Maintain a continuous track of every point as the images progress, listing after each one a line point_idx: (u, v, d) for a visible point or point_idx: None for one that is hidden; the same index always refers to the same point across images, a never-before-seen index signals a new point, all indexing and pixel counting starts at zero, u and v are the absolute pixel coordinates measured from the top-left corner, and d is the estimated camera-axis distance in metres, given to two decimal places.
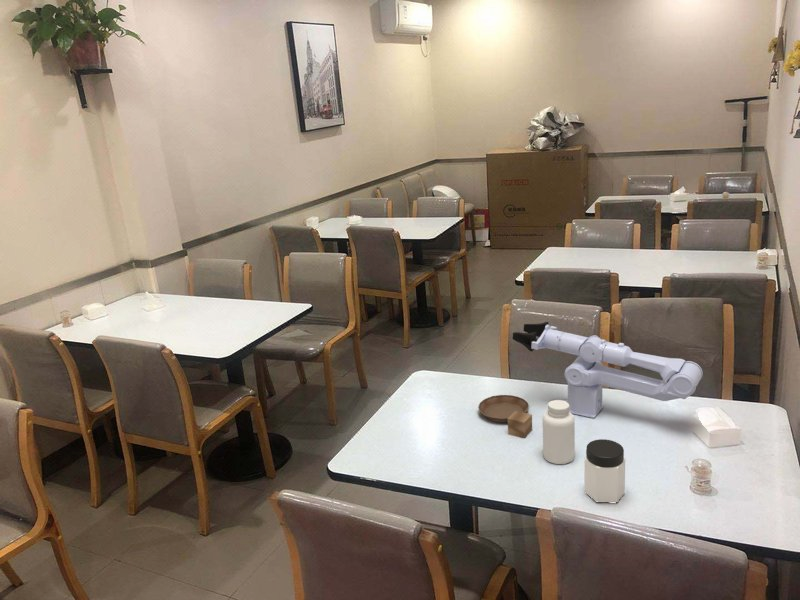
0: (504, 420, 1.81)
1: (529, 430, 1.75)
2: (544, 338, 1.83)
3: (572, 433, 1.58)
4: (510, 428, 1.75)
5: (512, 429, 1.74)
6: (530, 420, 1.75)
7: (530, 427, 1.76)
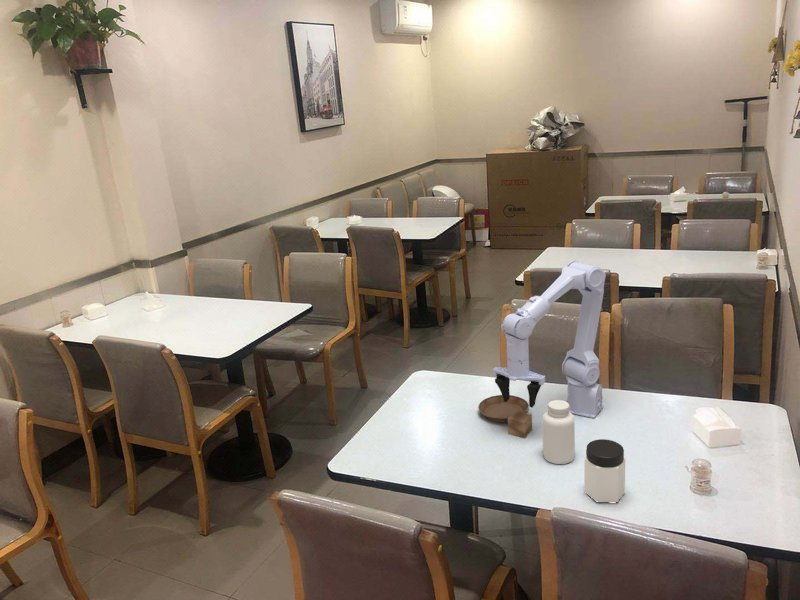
0: (504, 420, 1.81)
1: (529, 430, 1.75)
2: (526, 375, 1.69)
3: (572, 433, 1.58)
4: (510, 428, 1.75)
5: (512, 429, 1.74)
6: (530, 420, 1.75)
7: (530, 427, 1.76)
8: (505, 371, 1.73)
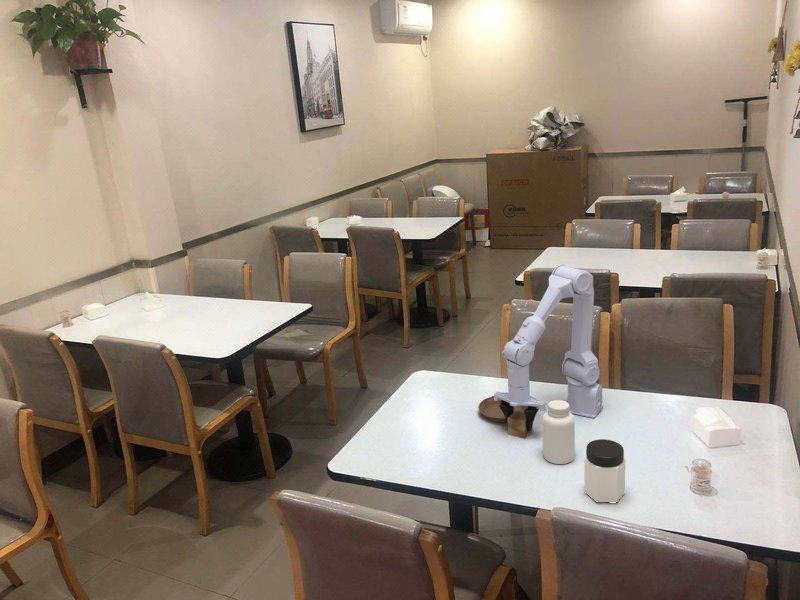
0: (504, 420, 1.81)
1: None
2: (526, 400, 1.71)
3: (572, 433, 1.58)
4: (510, 428, 1.75)
5: (512, 428, 1.74)
6: None
7: None
8: (506, 396, 1.75)
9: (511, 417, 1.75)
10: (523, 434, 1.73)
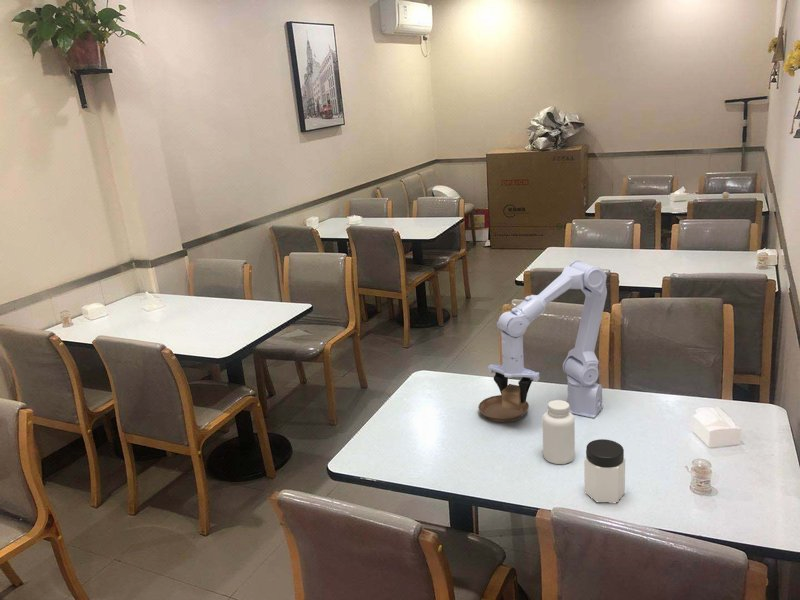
0: (504, 420, 1.81)
1: None
2: (520, 372, 1.72)
3: (572, 433, 1.58)
4: (504, 401, 1.76)
5: (506, 401, 1.76)
6: None
7: None
8: (500, 368, 1.76)
9: (505, 390, 1.76)
10: (517, 406, 1.74)
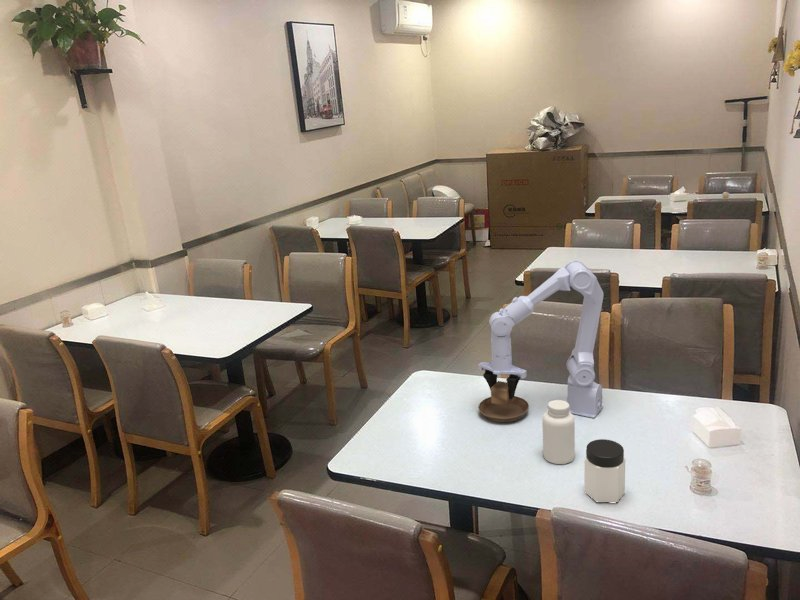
0: (504, 420, 1.81)
1: None
2: (509, 369, 1.81)
3: (572, 433, 1.58)
4: (493, 397, 1.85)
5: (495, 397, 1.84)
6: None
7: None
8: (490, 366, 1.85)
9: (494, 386, 1.84)
10: (505, 402, 1.83)
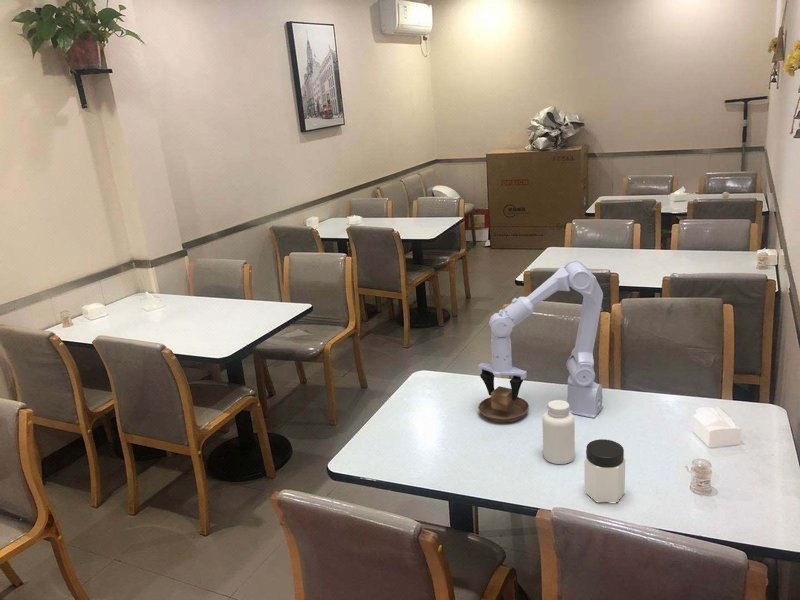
0: (504, 420, 1.81)
1: (511, 404, 1.85)
2: (509, 370, 1.81)
3: (572, 433, 1.58)
4: (493, 402, 1.85)
5: (495, 402, 1.85)
6: None
7: (512, 401, 1.86)
8: (490, 367, 1.85)
9: (494, 392, 1.85)
10: (505, 408, 1.83)
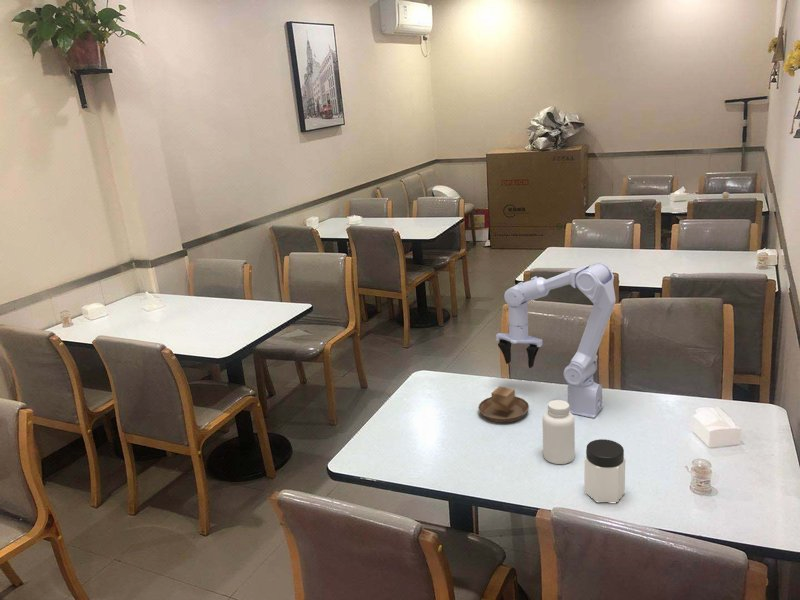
0: (504, 420, 1.81)
1: (512, 404, 1.85)
2: (525, 339, 1.91)
3: (572, 433, 1.58)
4: (494, 402, 1.85)
5: (496, 403, 1.85)
6: (513, 395, 1.85)
7: (513, 401, 1.86)
8: (507, 336, 1.95)
9: (495, 392, 1.85)
10: (506, 408, 1.83)
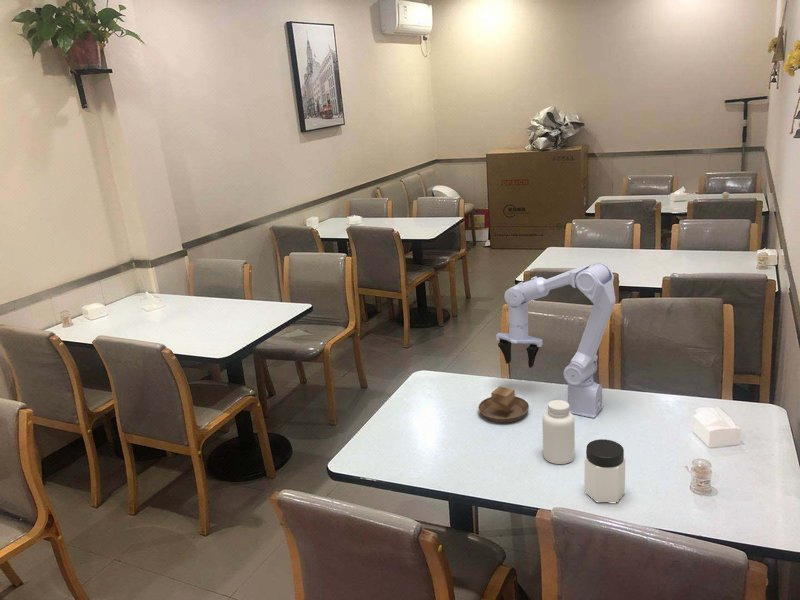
0: (504, 420, 1.81)
1: (512, 404, 1.85)
2: (525, 338, 1.91)
3: (572, 433, 1.58)
4: (494, 402, 1.85)
5: (495, 402, 1.85)
6: (513, 394, 1.85)
7: (513, 401, 1.86)
8: (507, 336, 1.95)
9: (494, 392, 1.85)
10: (505, 408, 1.83)
